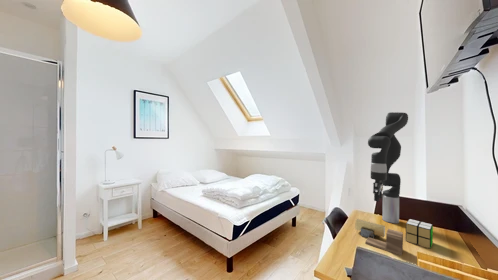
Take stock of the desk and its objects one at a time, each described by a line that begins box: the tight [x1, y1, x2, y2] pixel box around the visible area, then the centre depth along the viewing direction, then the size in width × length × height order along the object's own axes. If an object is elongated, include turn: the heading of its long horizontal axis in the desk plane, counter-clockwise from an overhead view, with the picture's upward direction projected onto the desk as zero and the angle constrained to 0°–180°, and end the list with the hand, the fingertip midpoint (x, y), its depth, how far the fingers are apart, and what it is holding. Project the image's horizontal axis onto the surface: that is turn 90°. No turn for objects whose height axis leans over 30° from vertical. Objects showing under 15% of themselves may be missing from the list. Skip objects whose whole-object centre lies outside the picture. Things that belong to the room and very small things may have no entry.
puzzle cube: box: [405, 218, 434, 250], centre depth 103 cm, size 10×10×10 cm
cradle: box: [360, 228, 376, 239], centre depth 110 cm, size 8×6×4 cm
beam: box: [365, 228, 404, 257], centre depth 98 cm, size 7×15×9 cm, turn 47°
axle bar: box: [354, 218, 386, 238], centre depth 109 cm, size 4×14×5 cm, turn 47°
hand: (378, 199), depth 107 cm, fingers open, 8 cm apart
